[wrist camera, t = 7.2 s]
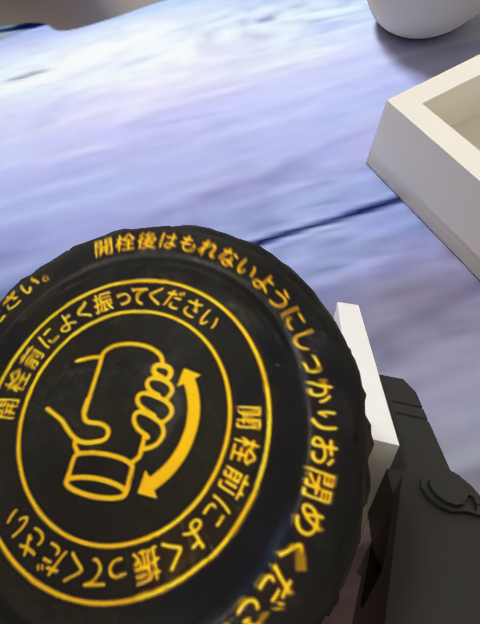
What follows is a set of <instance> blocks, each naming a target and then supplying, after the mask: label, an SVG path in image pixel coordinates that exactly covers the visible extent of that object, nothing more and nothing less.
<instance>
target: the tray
mask: <svg viewBox="0 0 480 624" xmlns="http://www.w3.org/2000/svg"><path fill="white" fill-rule="evenodd" d="M366 163H367V164H368V165H369V166H370V168H371V169H372V170H373V171H374V172H375V173H376V174H377V175H378V176H379V177H380V178H381V179H382V180H383V181H384V182H385V183H386V184H387V185H388V186H389V187H390V188H391V189H392V190H393V191H394V192H395V193H396V194H397V195H398V196H399V197H400V198H401V200H402V201H403V202H404V203H405V204H406V205H407V206H408V207H409V208H410V209H411V210H412V211H413V212H414V213H415V214H416V215H417V216H418V217H419V218H420V219H421V220H422V221H423V222H424V223H425V224H426V225H427V226H428V227H429V228H430V229H431V230H432V231H433V233H434V234H435V235H436V236H437V237H438V238H439V239H440V240H441V241H442V242H443V243H444V244H445V245H446V246H447V247H448V248H449V249H450V250H451V251H452V252H453V253H454V254H455V255H456V256H457V257H458V258H459V259H460V260H461V261H462V262H463V263H464V264H465V266H466V267H467V268H468V269H469V270H470V271H471V272H472V273H473V274H474V275H475V276H476V277H477V278H478V279H479V280H480V54H479V55H477V56H475V57H473V58H471V59H469V60H467V61H465V62H463V63H461V64H459V65H457V66H455V67H453V68H451V69H449V70H447V71H445V72H443V73H441V74H439V75H437V76H435V77H433V78H431V79H429V80H427V81H425V82H423V83H421V84H419V85H417V86H415V87H413V88H411V89H409V90H407V91H405V92H403V93H401V94H399V95H397V96H395V97H393V98H391V99H388V100H387V102H386V105H385V108H384V111H383V114H382V117H381V120H380V123H379V125H378V128H377V131H376V134H375V137H374V140H373V143H372V146H371V149H370V152H369V155H368V158H367V161H366Z"/></svg>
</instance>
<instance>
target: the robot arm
mask: <svg viewBox="0 0 480 624" xmlns="http://www.w3.org/2000/svg"><path fill="white" fill-rule="evenodd" d="M334 320H335V322H336V323H337V325H338V327H339V329H340V331H341V333H342V335H343V336H344V338H345V340H346V342H347V346H348V347H349V348H350V349H351V352H352V355H353V357H354V358H355V360H356V363H357V366H358V369H359V371H360V375H361V381H362V387H363V389H364V391H365V392H366V400H365V414H366V416H367V418H368V420H369V422H370V424H371V434H372V438H373V441H374V447H373V449H372V452H371V454H370V456H369V459H368V465H369V470H370V476H371V490H370V493H369V496H368V502H367V504H366V505H365V507H364V508H363V516H362V527H361V528H362V529H361V532H362V531H363V529H364V527H365V524H366V522H367V520H368V518H369V525H370V532H371V540H372V542H371V544H370V546H369V548H368V550H367V552H366V554H365V557H364V559H363V561H362V563H361V565H360V567H359V570H358V572H357V573H358V574H359V575H361V576H362V577H361V582H360V587H359V592H358V597H357V603H356V608H355V613H354V618H353V624H480V496H479V494H478V493H477V492H476V491H475V489H474V488H473V487H472V486H471V485H470V484H468V483H467V482H466V481H465V480H464V479H462V478H461V477H460V476H459V475H457V474H456V473H454V472H452V471H450V469H449V467H448V464H447V462H446V460H445V458H444V455H443V453H442V451H441V449H440V446H439V444H438V442H437V439H436V437H435V435H434V433H433V430H432V428H431V426H430V424H429V422H428V421H427V417H426V414H425V412H424V410H423V409H422V405H421V403H420V401H419V399H418V396H417V394H416V392H415V391H414V390H413V389H412V388H411V387H410V386H409V385H408V384H407V383H406V382H405V381H404V380H403V379H399V378H394V377H389V376H384V375H379V374H378V371H377V368H376V364H375V361H374V357H373V354H372V350H371V347H370V344H369V340H368V337H367V333H366V330H365V327H364V323H363V320H362V316H361V313H360V310H359V306H358V305H353V304H347V303H340V302H337V306H336V311H335V315H334Z"/></svg>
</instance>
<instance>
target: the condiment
mask: <svg viewBox="0 0 480 624" xmlns="http://www.w3.org/2000/svg"><path fill="white" fill-rule="evenodd" d="M365 400H366V392H365V391H364V389H363V387H362V381H361V375H360V371H359V369H358V366H357V363H356V360H355V358H354V357H353V355H352V352H351V349H350V348H349V347H348V346H347V342H346V340H345V338H344V336H343V335H342V333H341V331H340V329H339V327H338V325H337V323H336V322H335V320H334V319H333V317H332V316H331V314H330V313H329V312H328V310H327V309H326V308H325V307H324V305H323V304H322V303H321V301H320V300H319V298H318V297H317V295H316V294H315V292H314V291H313V290H312V289H311V288H310V287H309V286H308V285H307V284H306V283H305V282H304V281H303V280H302V278H301V277H300V276H299V275H298V274H297V273H296V272H294V271H293V270H292V269H291V268H290V267H289V266H287V265H286V264H284V263H282V262H281V261H280V260H279V259H277V258H276V257H275V256H274V255H273V254H271V253H270V252H268V251H266V250H265V249H263V248H262V247H261V246H259V245H257V244H254V243H251V242H248V241H245V240H241V239H238V238H235V237H233V236H231V235H228V234H226V233H222V232H219V231H216V230H213V229H210V228H205V227H200V226H195V225H183V226H174V227H171V226H161V227H149V228H140V229H122V230H117V231H114V232H111V233H109V234H107V235H105V236H102V237H99V238H96V239H93V240H91V241H88V242H85V243H83V244H79V245H77V246H74V247H72V248H71V249H70V250H69V251H65V252H64V253H63V254H61V255H60V256H58V257H57V258H55V259H54V260H52V261H50V262H49V263H47V264H45V265H43V266H41V267H40V268H39V269H37V270H36V271H35V272H34V273H33V274H32V275H30V276H28V277H25V278H23V279H21V280H20V281H19V282H18V283H17V284H16V285H15V286H14V287H13V288H12V289H11V290H10V291H9V292H8V294H7V295H6V296H5V297H4V299H3V300H2V301H1V302H0V624H321V623H322V621H323V619H324V617H325V616H329V615H330V613H331V612H332V610H333V608H334V607H335V605H336V604H337V602H338V601H339V592H340V590H341V589H342V587H343V585H344V582H345V580H346V577H347V575H348V572H349V569H350V566H351V563H352V560H353V557H354V554H355V551H356V549H357V547H358V544H359V542H360V538H361V529H362V528H361V527H362V516H363V508H364V507H365V505H366V504H367V502H368V496H369V493H370V490H371V476H370V470H369V465H368V459H369V456H370V454H371V452H372V449H373V447H374V441H373V438H372V434H371V424H370V422H369V420H368V418H367V416H366V414H365Z"/></svg>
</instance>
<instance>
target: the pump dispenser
mask: <svg viewBox="0 0 480 624" xmlns="http://www.w3.org/2000/svg"><path fill="white" fill-rule="evenodd" d="M367 1H368V5H369V8H370V10H371V13H372V14H373V16H374V18H375V19H376V21H377V22H378V23H379V24H380V25H381V26H382V27H383V28H384V29H386V30H387V31H389V32H391V33H393V34H395V35H397V36H400V37H404V38H411V39H423V38H431V37H435V36H439V35H442V34H445V33H448V32H450V31H452V30H454V29H456V28H458V27H460V26H462V25H463V24H465V23H466V22H468V21H469V20H470V19H472V18H473V17H474V16H475V15H477V14H478V13H479V12H480V0H367Z"/></svg>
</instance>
